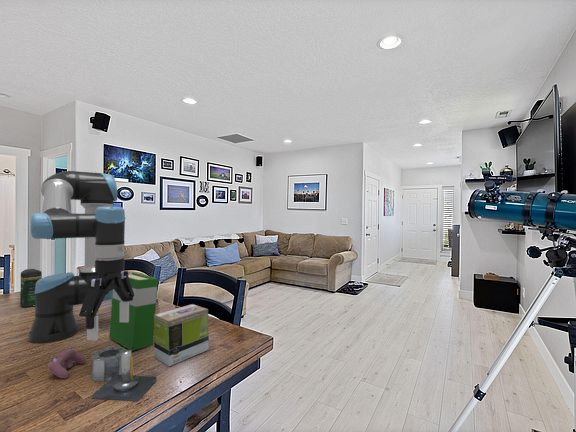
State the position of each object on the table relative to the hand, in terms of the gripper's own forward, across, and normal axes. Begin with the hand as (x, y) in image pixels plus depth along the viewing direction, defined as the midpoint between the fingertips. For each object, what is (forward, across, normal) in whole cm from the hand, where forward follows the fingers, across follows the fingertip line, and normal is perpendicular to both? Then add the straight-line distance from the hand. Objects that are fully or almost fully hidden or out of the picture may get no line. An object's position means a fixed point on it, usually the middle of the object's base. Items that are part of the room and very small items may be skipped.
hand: (109, 330), depth 87 cm
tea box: (+13, +14, -16) cm, 25 cm away
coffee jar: (+12, +57, +84) cm, 103 cm away
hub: (+13, 0, 0) cm, 13 cm away
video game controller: (+13, 0, +14) cm, 19 cm away
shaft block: (+13, -7, -10) cm, 18 cm away
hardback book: (+13, +21, +7) cm, 26 cm away
